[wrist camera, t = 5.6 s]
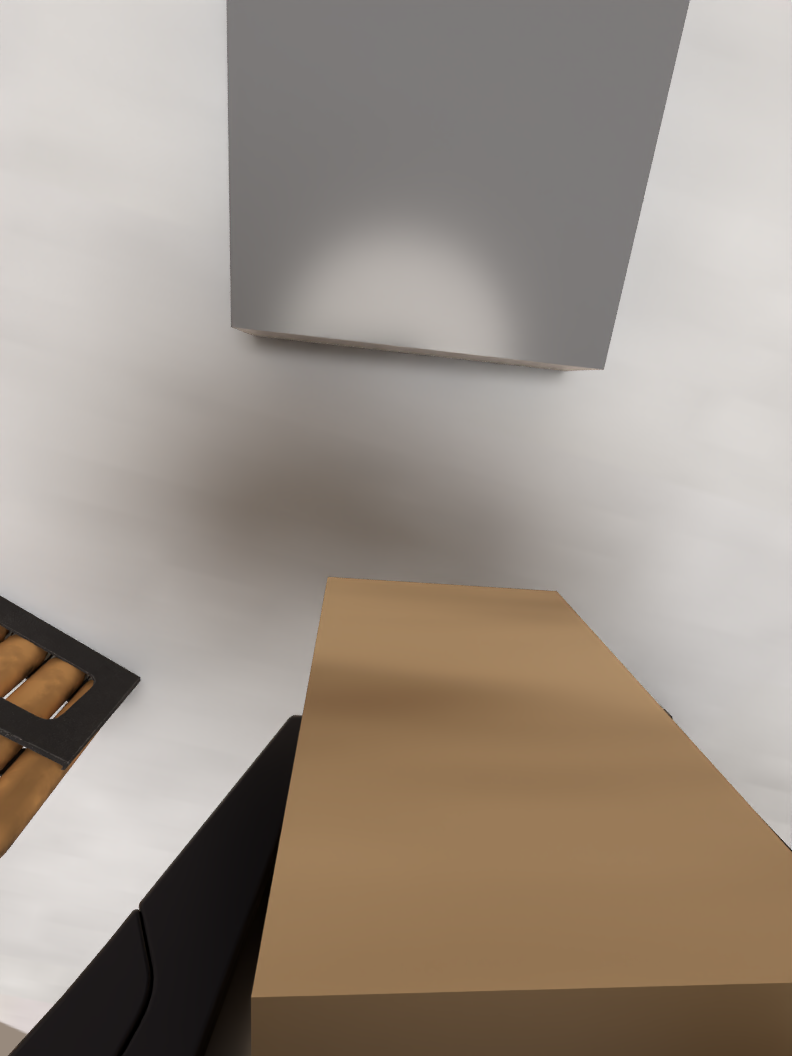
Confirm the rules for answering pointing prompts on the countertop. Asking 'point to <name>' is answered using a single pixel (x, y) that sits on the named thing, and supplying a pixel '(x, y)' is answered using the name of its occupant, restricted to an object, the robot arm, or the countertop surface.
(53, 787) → the ammunition clip
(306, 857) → the wooden block
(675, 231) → the countertop surface
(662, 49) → the slate base
